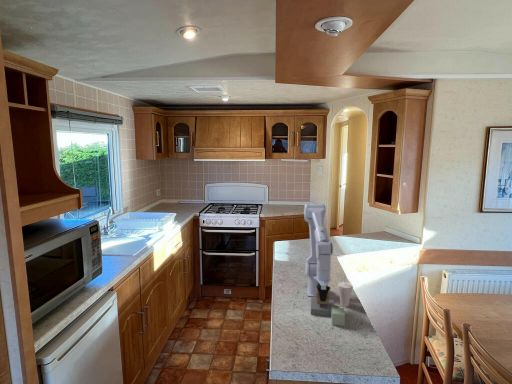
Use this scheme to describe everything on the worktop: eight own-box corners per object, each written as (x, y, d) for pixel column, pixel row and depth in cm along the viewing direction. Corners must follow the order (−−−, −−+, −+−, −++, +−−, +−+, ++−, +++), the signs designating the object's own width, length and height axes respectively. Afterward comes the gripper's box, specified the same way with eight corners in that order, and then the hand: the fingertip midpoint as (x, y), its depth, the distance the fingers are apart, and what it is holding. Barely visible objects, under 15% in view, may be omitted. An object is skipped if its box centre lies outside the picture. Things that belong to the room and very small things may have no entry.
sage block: (331, 318, 132) (331, 307, 131) (343, 319, 131) (344, 308, 130) (331, 325, 127) (332, 313, 126) (344, 326, 126) (345, 314, 125)
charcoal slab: (311, 303, 144) (311, 297, 144) (333, 306, 143) (333, 299, 142) (310, 315, 135) (310, 308, 134) (334, 317, 133) (334, 311, 132)
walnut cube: (316, 298, 141) (317, 287, 140) (328, 299, 140) (328, 288, 139) (316, 303, 136) (317, 292, 135) (328, 304, 135) (329, 293, 134)
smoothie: (340, 300, 147) (342, 271, 145) (354, 304, 143) (355, 275, 141) (334, 305, 142) (335, 276, 140) (348, 309, 138) (349, 279, 136)
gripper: (314, 261, 144) (313, 289, 146) (314, 274, 130) (313, 305, 132) (330, 262, 142) (329, 291, 144) (331, 275, 128) (330, 306, 130)
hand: (322, 298), depth 138 cm, fingers closed on walnut cube, 5 cm apart
